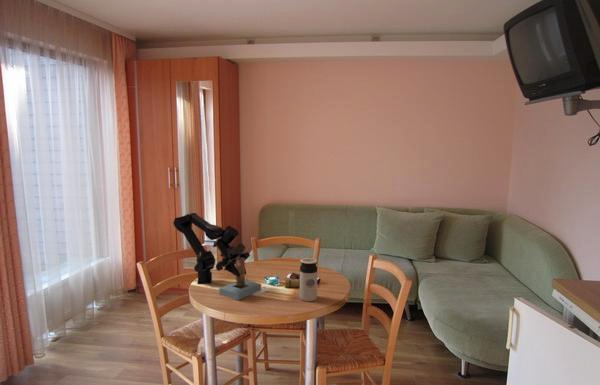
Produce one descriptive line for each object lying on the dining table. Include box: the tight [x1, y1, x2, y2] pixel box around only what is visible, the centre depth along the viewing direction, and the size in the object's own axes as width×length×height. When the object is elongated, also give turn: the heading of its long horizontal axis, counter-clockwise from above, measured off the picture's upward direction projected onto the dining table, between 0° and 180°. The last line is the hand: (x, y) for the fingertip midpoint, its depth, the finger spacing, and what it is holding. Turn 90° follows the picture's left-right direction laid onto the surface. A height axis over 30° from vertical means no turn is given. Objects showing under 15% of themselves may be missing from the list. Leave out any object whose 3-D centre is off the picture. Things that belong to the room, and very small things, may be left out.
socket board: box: [218, 279, 262, 301], centre depth 181 cm, size 12×16×3 cm
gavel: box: [284, 272, 300, 289], centre depth 197 cm, size 21×5×10 cm
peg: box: [235, 256, 246, 289], centre depth 180 cm, size 4×4×15 cm
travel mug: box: [299, 257, 318, 302], centre depth 173 cm, size 8×8×18 cm
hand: (242, 275), depth 179 cm, fingers closed on peg, 4 cm apart
